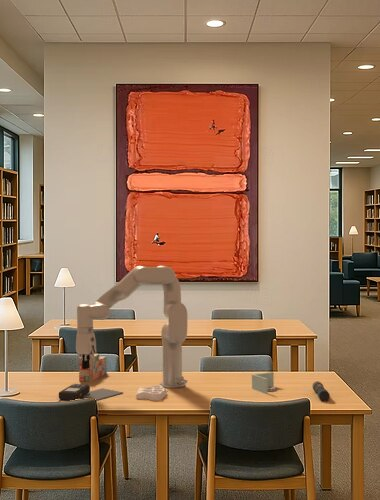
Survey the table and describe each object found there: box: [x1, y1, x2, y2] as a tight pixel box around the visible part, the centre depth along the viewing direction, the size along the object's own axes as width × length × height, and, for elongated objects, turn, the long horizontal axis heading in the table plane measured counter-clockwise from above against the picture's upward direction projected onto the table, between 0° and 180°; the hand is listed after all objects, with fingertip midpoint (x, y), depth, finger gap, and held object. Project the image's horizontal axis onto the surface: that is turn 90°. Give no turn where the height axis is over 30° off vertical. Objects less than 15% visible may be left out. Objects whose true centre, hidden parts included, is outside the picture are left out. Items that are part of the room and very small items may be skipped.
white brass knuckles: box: [135, 384, 169, 401], centre depth 349 cm, size 3×18×15 cm
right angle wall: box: [251, 371, 277, 394], centre depth 360 cm, size 12×12×8 cm
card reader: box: [58, 383, 91, 401], centre depth 347 cm, size 9×4×15 cm
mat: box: [80, 388, 124, 402], centre depth 351 cm, size 14×18×1 cm
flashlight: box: [312, 381, 331, 402], centre depth 347 cm, size 5×22×5 cm, turn 179°
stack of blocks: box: [78, 353, 108, 383], centre depth 391 cm, size 21×6×12 cm, turn 163°
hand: (85, 368), depth 356 cm, fingers closed
